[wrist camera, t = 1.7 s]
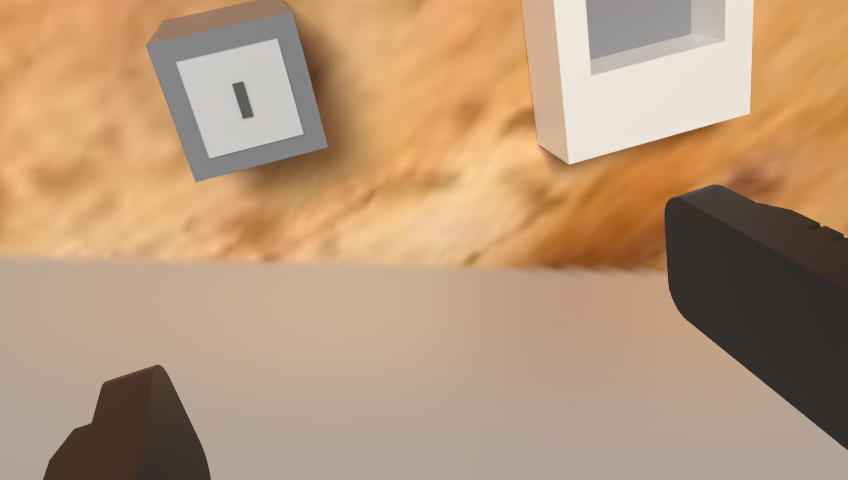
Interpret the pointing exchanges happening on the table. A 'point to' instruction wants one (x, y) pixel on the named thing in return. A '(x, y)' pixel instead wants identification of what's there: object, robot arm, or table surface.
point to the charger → (237, 87)
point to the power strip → (634, 70)
